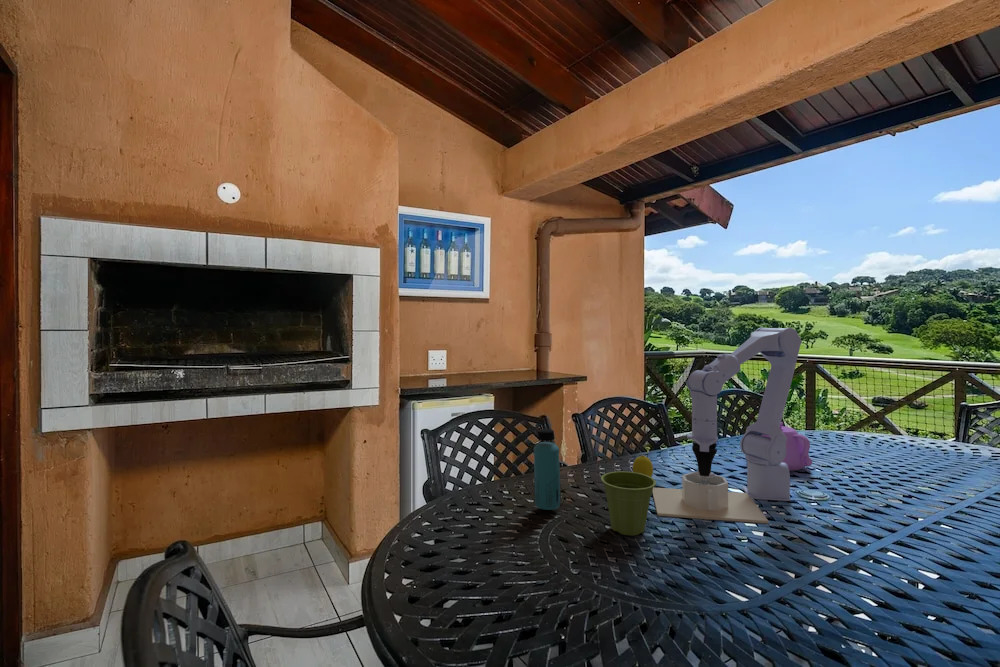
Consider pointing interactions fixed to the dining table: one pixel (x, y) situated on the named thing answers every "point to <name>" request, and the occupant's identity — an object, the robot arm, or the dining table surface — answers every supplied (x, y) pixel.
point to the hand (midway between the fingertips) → (704, 473)
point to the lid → (704, 478)
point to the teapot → (795, 449)
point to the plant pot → (628, 500)
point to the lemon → (643, 466)
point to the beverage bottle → (546, 472)
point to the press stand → (706, 501)
